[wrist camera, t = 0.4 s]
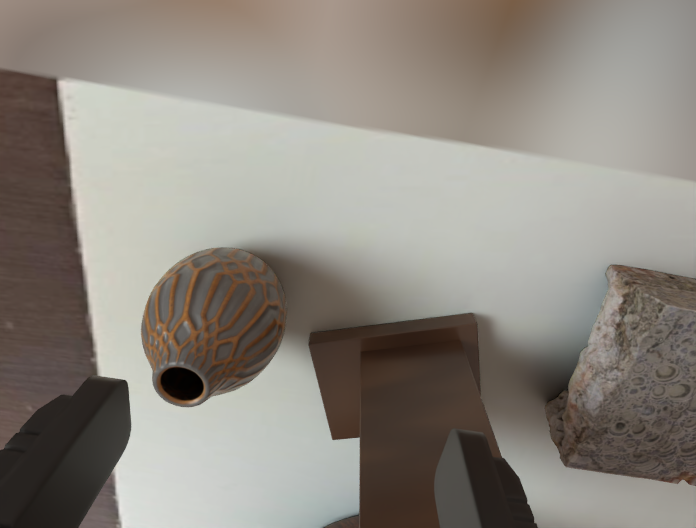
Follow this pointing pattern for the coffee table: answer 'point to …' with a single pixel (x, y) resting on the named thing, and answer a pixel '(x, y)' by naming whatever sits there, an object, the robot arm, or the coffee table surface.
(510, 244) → the coffee table surface
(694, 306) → the geological specimen
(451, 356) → the stand
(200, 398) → the vase
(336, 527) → the wooden bowl
